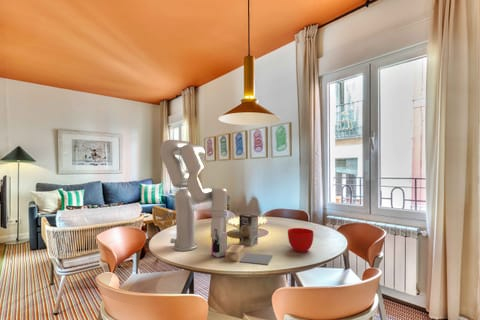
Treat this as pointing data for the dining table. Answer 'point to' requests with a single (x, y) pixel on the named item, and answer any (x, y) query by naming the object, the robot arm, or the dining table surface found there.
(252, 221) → the coffee box
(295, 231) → the ceramic cup
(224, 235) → the supplement box
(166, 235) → the dining table surface
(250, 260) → the mat
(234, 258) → the ledge
